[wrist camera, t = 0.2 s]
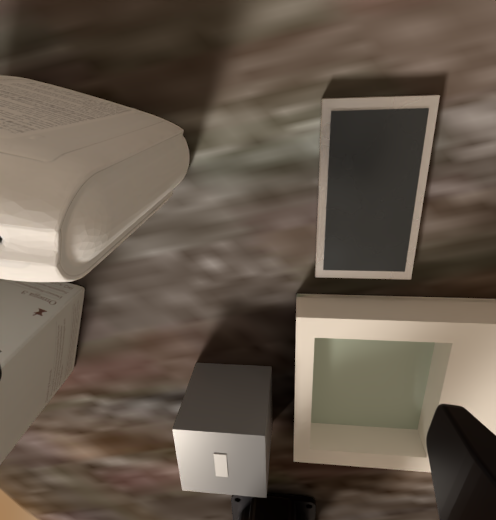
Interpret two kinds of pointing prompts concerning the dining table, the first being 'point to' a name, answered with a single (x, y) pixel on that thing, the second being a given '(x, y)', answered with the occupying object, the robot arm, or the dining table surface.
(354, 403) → the white grey flat device
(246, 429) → the block
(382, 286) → the dining table surface
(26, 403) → the supplement box
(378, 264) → the phone slab
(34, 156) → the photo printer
